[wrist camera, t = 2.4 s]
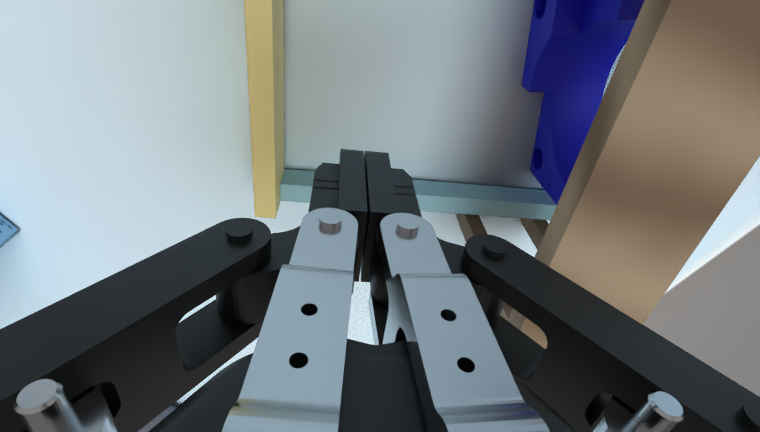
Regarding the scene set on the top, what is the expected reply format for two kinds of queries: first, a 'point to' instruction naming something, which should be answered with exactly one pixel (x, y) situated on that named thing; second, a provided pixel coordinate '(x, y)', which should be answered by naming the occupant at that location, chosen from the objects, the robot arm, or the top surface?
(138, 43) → the top surface
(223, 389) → the robot arm
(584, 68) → the cable clip
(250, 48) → the sled
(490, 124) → the top surface
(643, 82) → the tunnel arch
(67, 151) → the top surface
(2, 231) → the gum box
